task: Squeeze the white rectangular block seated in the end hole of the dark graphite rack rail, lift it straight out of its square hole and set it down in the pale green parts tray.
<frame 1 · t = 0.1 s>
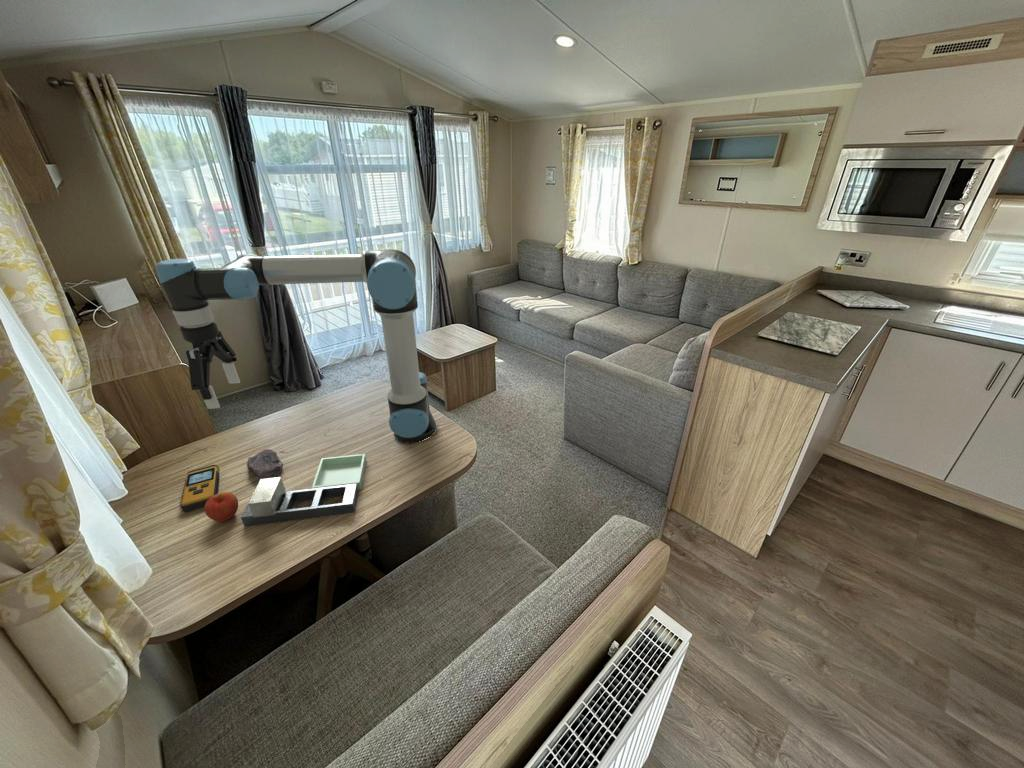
hand: (225, 394, 111), 28 cm above the table, fingers open, 13 cm apart
rack rail: (304, 508, 112), on the table
electronic device: (203, 491, 118), on the table
white rectangular block: (273, 512, 111), resting in rack rail
apple: (227, 517, 109), on the table
parts tray: (341, 477, 123), on the table
rock: (266, 469, 126), on the table
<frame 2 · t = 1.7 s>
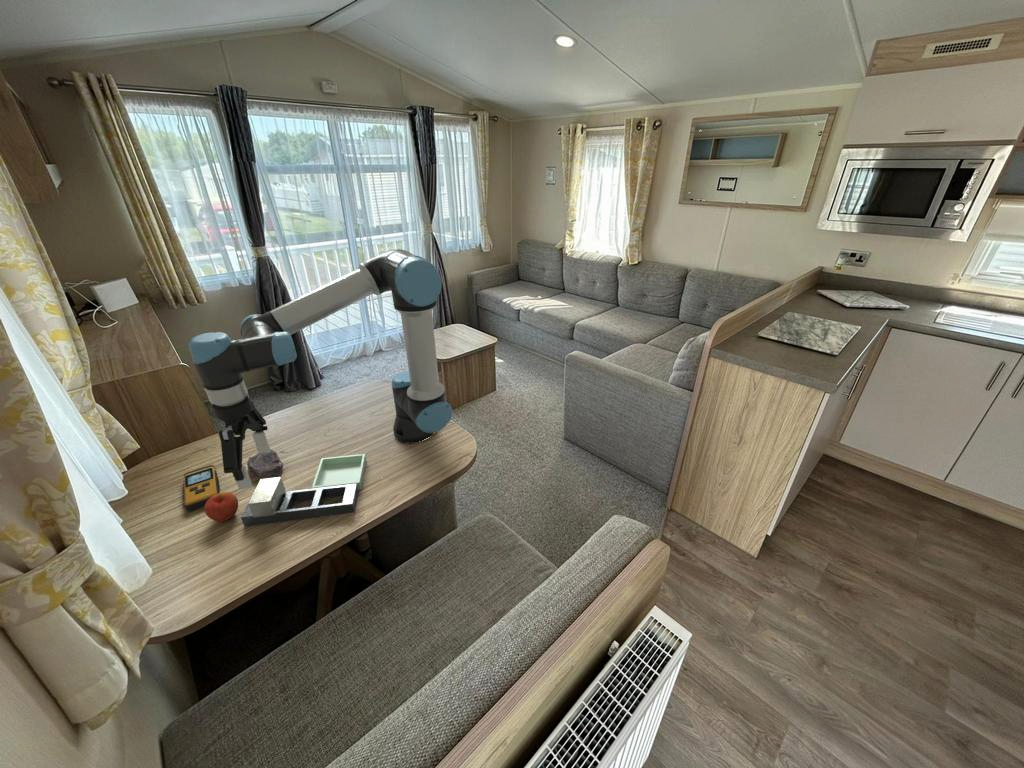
hand: (255, 468, 103), 16 cm above the table, fingers open, 13 cm apart
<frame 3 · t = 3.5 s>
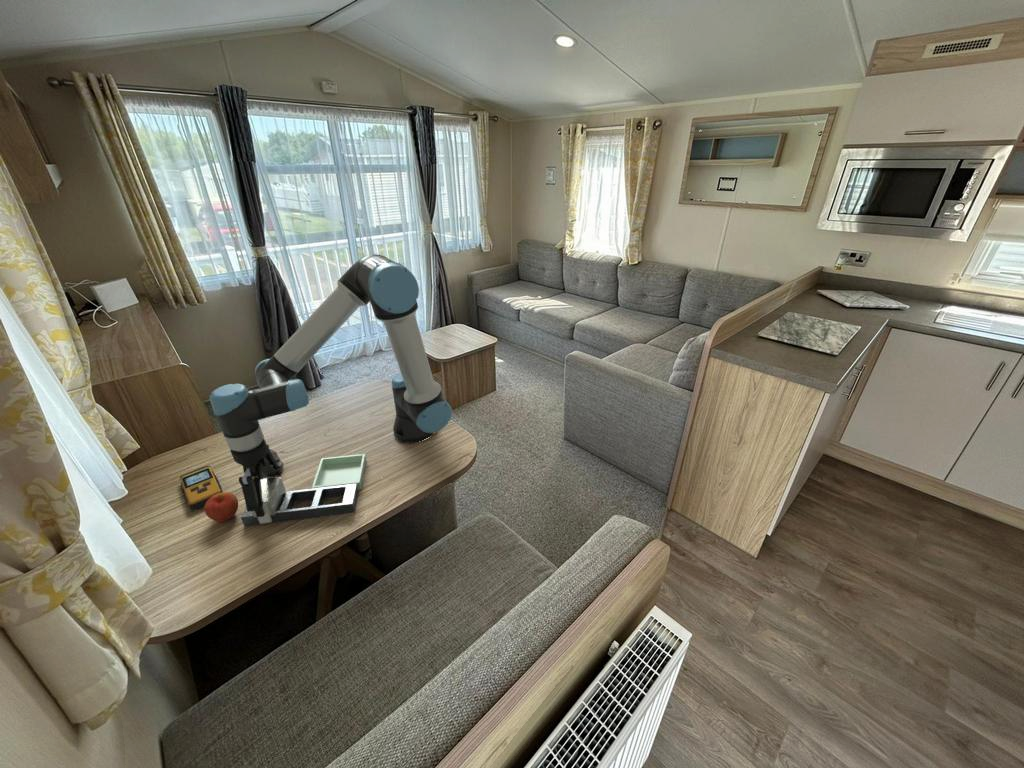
hand: (272, 507, 110), 2 cm above the table, fingers closed on white rectangular block, 9 cm apart
white rectangular block: (273, 512, 111), resting in rack rail, touching gripper
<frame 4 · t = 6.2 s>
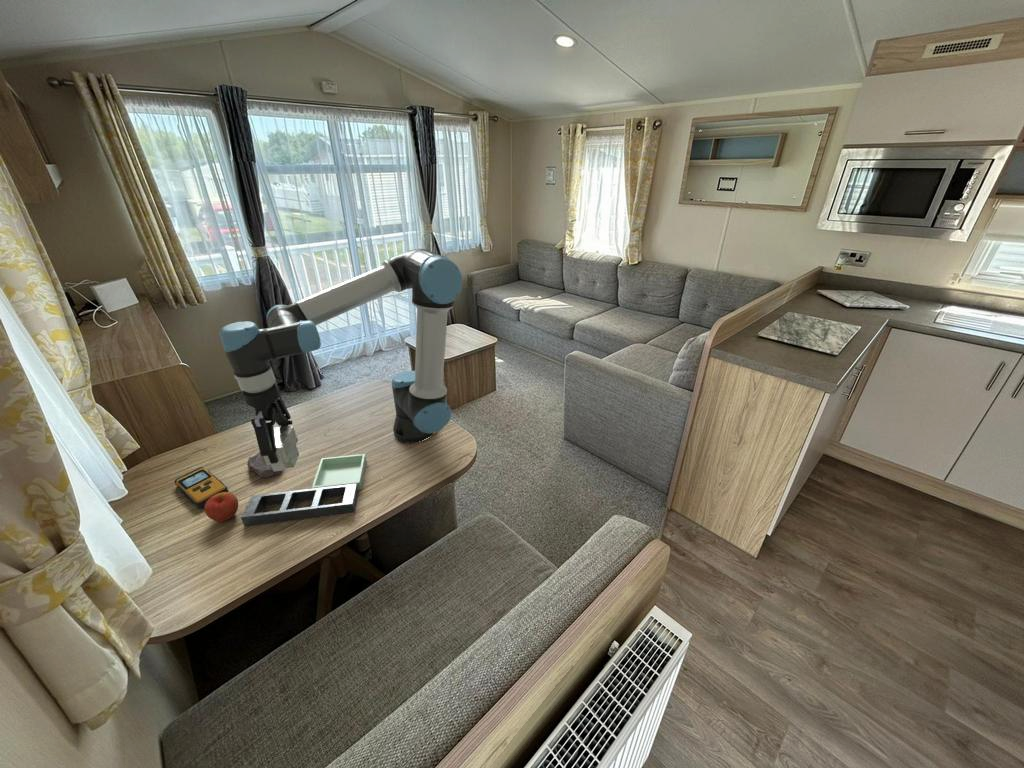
hand: (285, 457, 107), 16 cm above the table, fingers closed on white rectangular block, 9 cm apart
white rectangular block: (286, 462, 108), point 14 cm above the table, touching gripper
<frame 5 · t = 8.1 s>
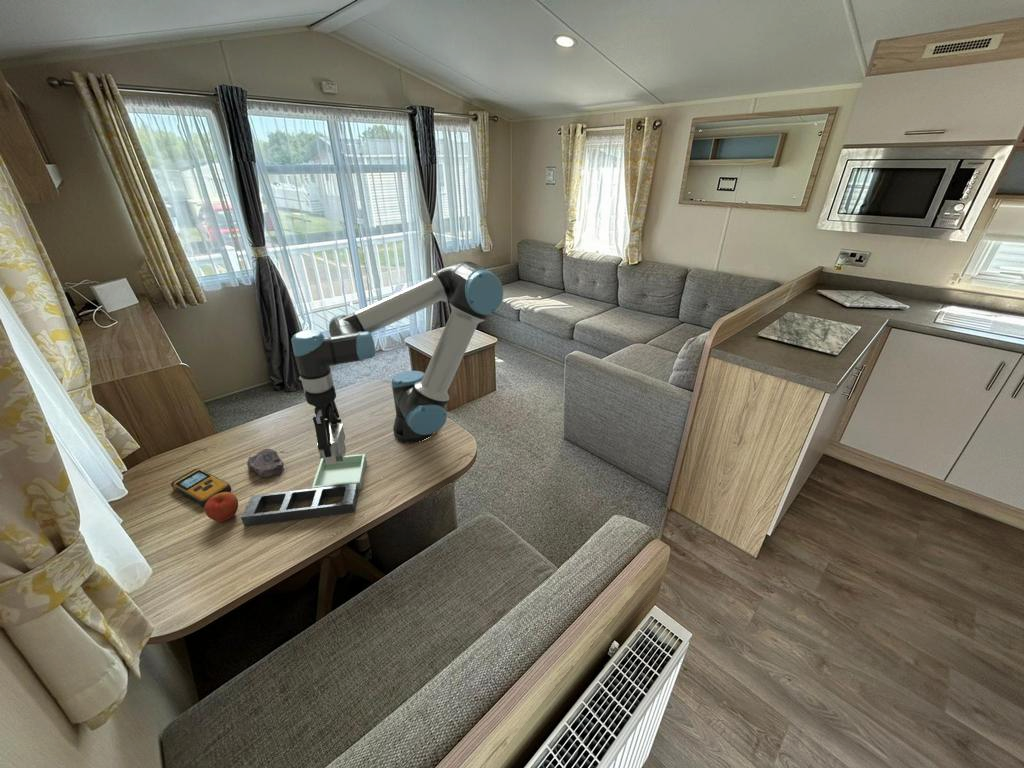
hand: (334, 452, 118), 10 cm above the table, fingers closed on white rectangular block, 9 cm apart
white rectangular block: (335, 456, 119), point 8 cm above the table, touching gripper
when the fingers open (4 cm above the table, at t = 9.4 s): white rectangular block drops 2 cm, resting on parts tray.
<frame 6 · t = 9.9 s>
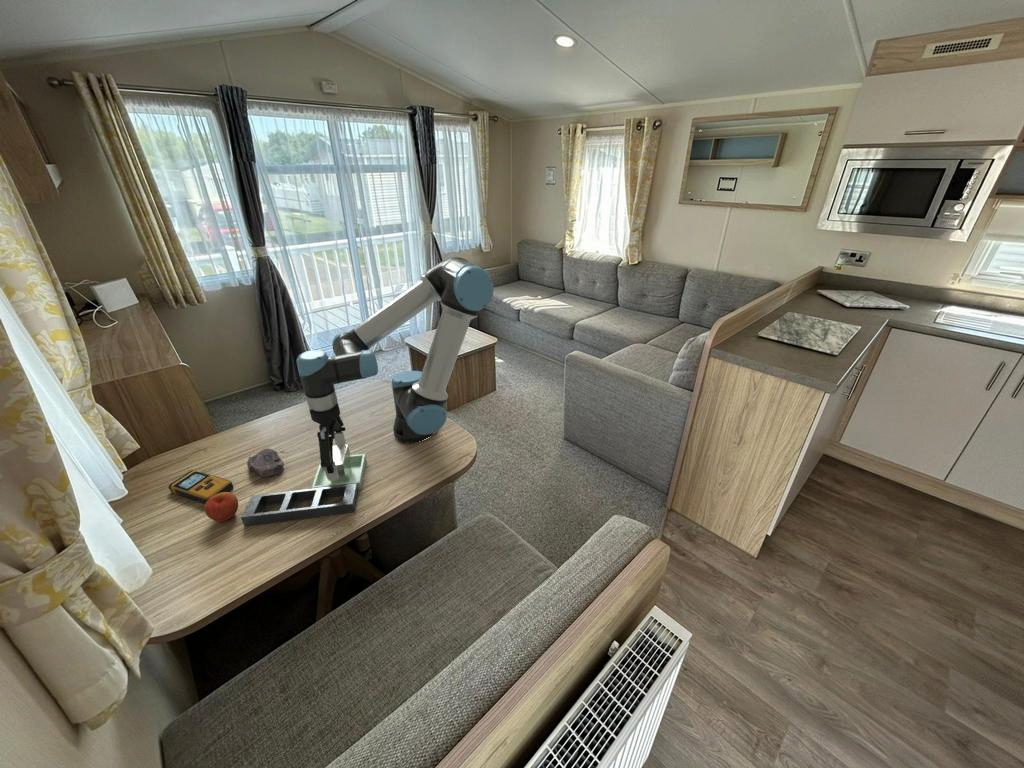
hand: (338, 463, 121), 5 cm above the table, fingers open, 13 cm apart
white rectangular block: (341, 476, 123), resting on parts tray
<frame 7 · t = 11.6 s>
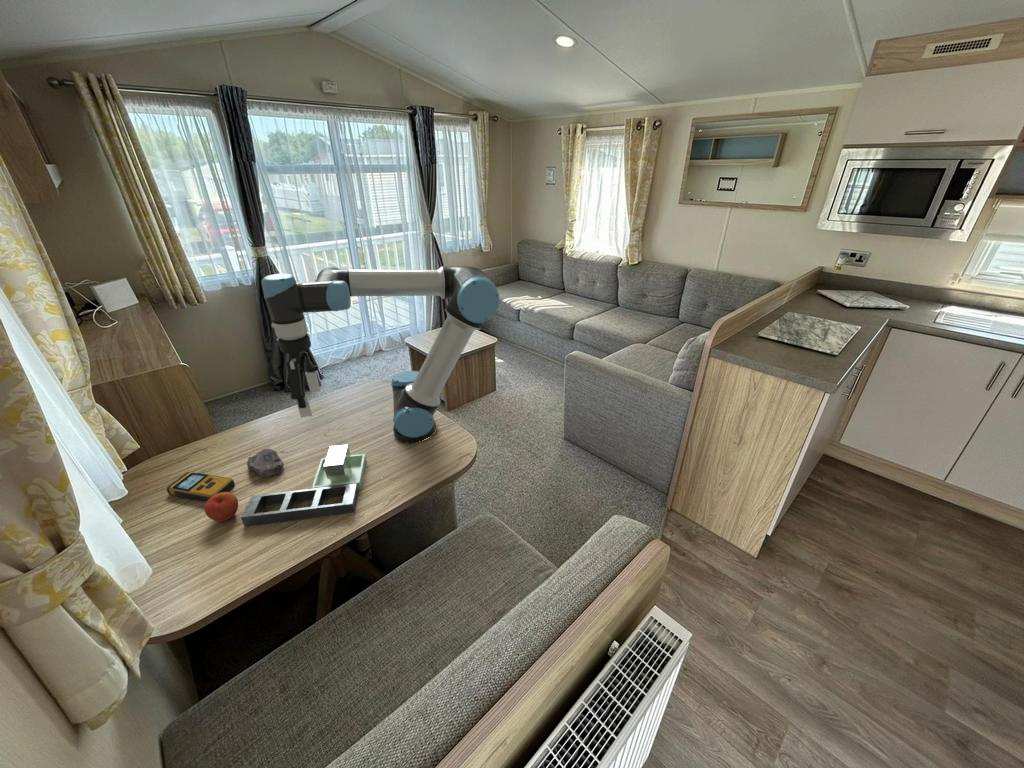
hand: (311, 403, 115), 24 cm above the table, fingers open, 13 cm apart
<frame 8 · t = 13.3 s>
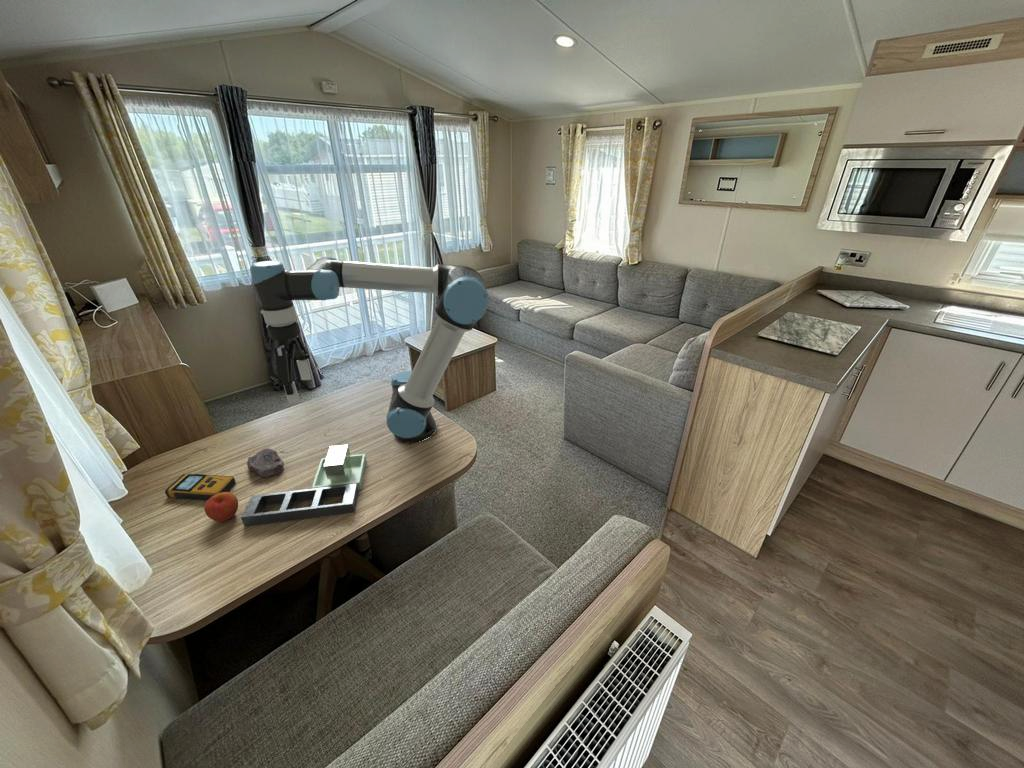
hand: (300, 390, 116), 27 cm above the table, fingers open, 13 cm apart
at the end: white rectangular block inside the target area on the parts tray (0.0 cm from its centre), point 0.3 cm above the parts tray's base; white rectangular block moved 19.7 cm from its start; the gripper is holding nothing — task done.
